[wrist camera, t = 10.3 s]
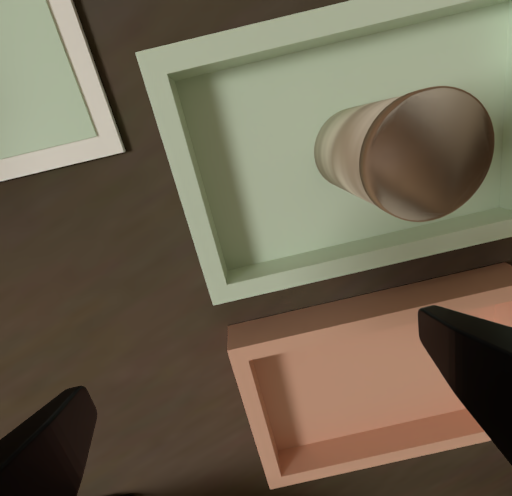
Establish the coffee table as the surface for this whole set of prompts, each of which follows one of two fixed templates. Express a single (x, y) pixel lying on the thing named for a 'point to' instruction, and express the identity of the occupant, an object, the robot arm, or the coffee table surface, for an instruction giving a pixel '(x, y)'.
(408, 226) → the sage tray
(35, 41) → the card
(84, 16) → the coffee table surface
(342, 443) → the terracotta tray
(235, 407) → the coffee table surface
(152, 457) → the coffee table surface
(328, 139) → the beige brown cylinder
